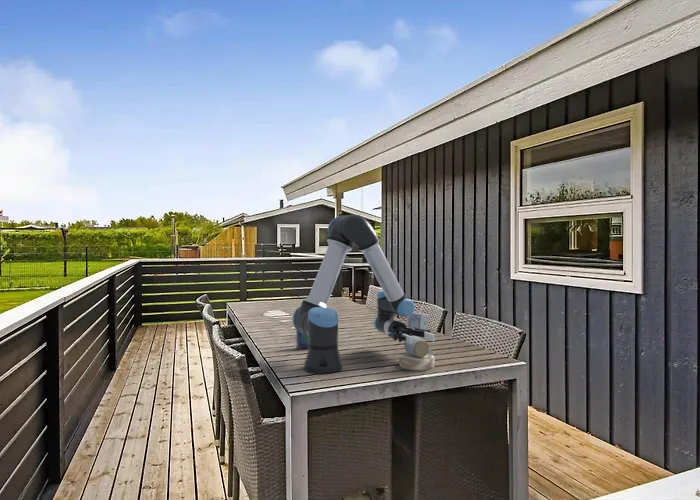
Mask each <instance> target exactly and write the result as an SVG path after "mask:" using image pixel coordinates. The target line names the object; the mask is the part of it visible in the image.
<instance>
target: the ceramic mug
mask: <svg viewBox="0 0 700 500" xmlns="http://www.w3.org/2000/svg"><path fill="white" fill-rule="evenodd" d="M411 337H412V344H410V343H407V342H405V341H404V343H403V344H404V345H403V346H404V351H405V353H409V354H411V355H413V356H415V357H419V358H421V357H424V356H426V355H427V353H428V354H430V355H433V354H434V351H433V350H431V349H430V346H429V344H428V342H427V341H426V340H424V339H423V338H422V337H418V336H411Z"/></svg>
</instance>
